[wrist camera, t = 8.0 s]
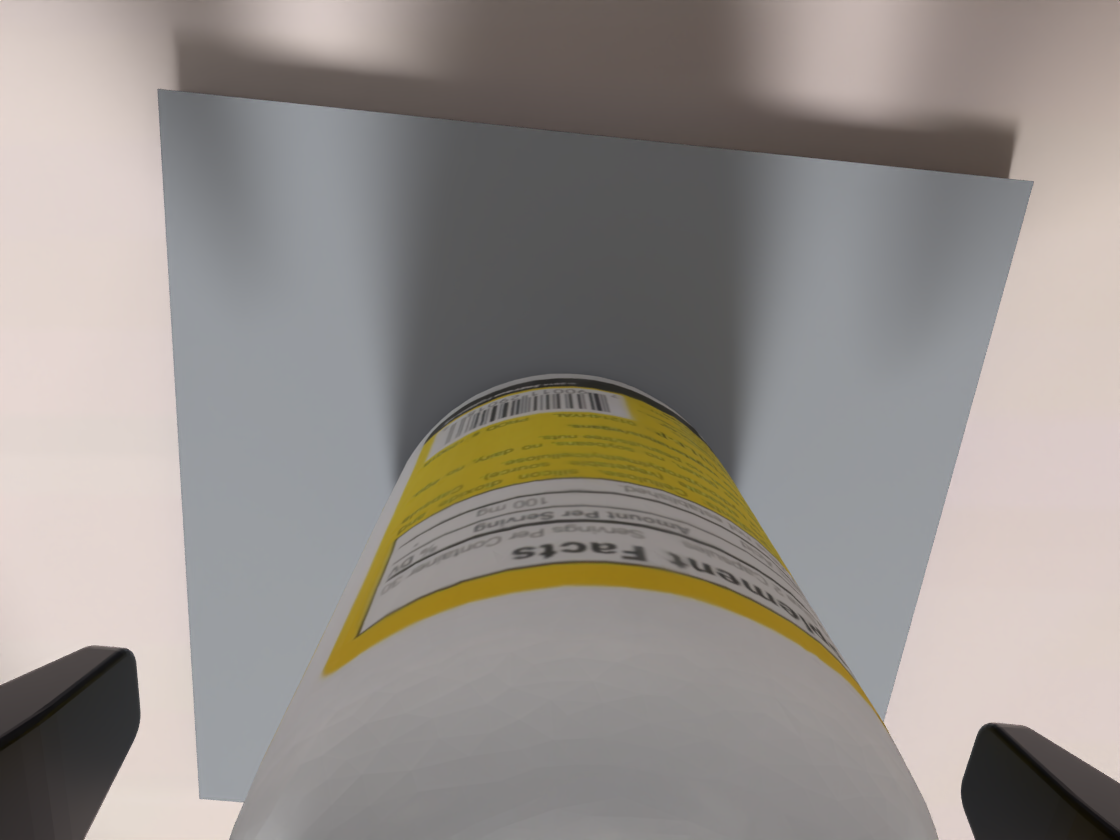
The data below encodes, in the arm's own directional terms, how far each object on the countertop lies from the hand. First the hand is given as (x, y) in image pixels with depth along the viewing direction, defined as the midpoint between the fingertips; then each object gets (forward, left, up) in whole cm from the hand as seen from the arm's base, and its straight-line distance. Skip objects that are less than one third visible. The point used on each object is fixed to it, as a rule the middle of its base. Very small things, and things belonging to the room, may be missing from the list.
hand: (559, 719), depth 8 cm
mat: (0, 0, -5) cm, 5 cm away
